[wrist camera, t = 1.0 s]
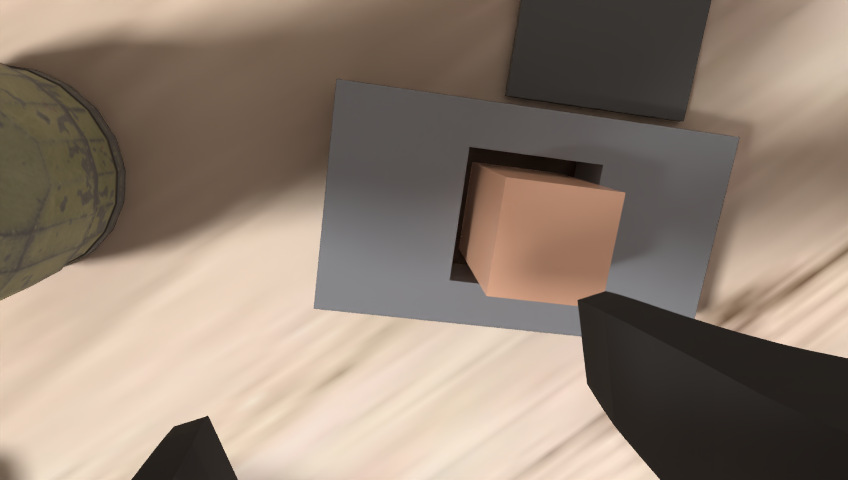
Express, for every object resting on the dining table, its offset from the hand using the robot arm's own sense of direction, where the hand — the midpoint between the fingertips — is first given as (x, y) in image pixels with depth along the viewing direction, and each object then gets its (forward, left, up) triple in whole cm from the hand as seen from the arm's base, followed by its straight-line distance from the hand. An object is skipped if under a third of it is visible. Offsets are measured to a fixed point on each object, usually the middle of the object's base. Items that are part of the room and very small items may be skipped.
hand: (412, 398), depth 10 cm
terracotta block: (-5, -2, -15) cm, 16 cm away
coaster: (-8, -11, -15) cm, 20 cm away
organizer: (-5, -2, -15) cm, 16 cm away
